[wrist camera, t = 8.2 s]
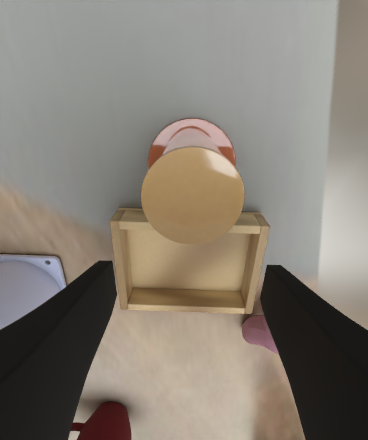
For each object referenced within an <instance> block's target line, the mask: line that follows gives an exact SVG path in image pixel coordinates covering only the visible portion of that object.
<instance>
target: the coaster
mask: <svg viewBox="0 0 368 440" xmlns="http://www.w3.org/2000/svg"><path fill="white" fill-rule="evenodd" d="M184 134H199V135H202V136H205V137H206V138H208V139H210V140H211V141H212V142H213V143H214V144H215V145H216V147H217V148H218V149H219V151H220V152H221V153H222V155H224V156H225V157H226V158H227V159H228V160H229V161H230V162H231V163H232V164H233V165H234V167H235V154H234V149H233V146H232V144H231V142H230V140H229V138H228V137H227V135H226V134H225V133H224V132H223V131H222V130H221V129H220V128H219V127H217V126H216V125H214V124H213V123H211V122H208V121H206V120H202V119H196V118H187V119H182V120H179V121H176V122H174V123H172V124H170V125H168V126H167V127H166V128H164V129H163V130H162V131H161V132H160V133H159V134H158V136H157V137H156V138H155V140H154V142H153V144H152V146H151V149H150V152H149V158H148V167H149V169H150V168H151V166H152V165H153V164H154V163H155V161H156V160H157V159H159V158H160V156H161V155H162V153H163V151H164V150H165V148H166V147H167V145H168V144H169V143H170V142H171V141H172V140H174V139H175V138H177V137H179V136H181V135H184Z"/></svg>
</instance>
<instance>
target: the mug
mask: <svg viewBox="0 0 368 440" xmlns="http://www.w3.org/2000/svg"><path fill="white" fill-rule="evenodd" d="M70 431H80V434H79V436H78V438H77V440H131V427H130V422H129V417H128V413H127V409H126V408H125V407H124V406H123V405H121V404H119V403H116V402H106V403H103V404H101V405H100V406H99V407H98V408H97V410H96V411H95V412H94V413H93V414H92V416H91V417H90V418H89V419H88V420H87V421H86V423H72V427H71V430H70Z"/></svg>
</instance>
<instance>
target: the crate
mask: <svg viewBox="0 0 368 440" xmlns="http://www.w3.org/2000/svg"><path fill="white" fill-rule="evenodd" d="M110 228H111V236H112V244H113V252H114V260H115V268H116V276H117V284H118V292H119V300H120V308H121V309H125V310H127V309H129V310H153V311H180V312H208V313H236V314H244V313H245V314H252V310H253V306H254V301H255V296H256V291H257V287H258V282H259V277H260V272H261V268H262V263H263V258H264V254H265V249H266V244H267V239H268V235H269V230H270V225H269V224H268V223H267V221H266V220H265V218H264V217H263V215H262V214H261V213H259V212H241V214H240V216H239V218H238V220H237V221H236V223H235V224H234V225H233V227H232V228H231V229H230V230H229V231H228V232H226V233H225V234H224V235H222V236H221V237H219V238H217V239H215V240H213V241H210V242H207V243H203V244H196V245H189V244H182V243H177V242H174V241H172V240H169V239H167V238H166V237H164V236H162V235H161V234H160V233H158V232H157V231H156V230H155V229H154V228H153V227H152V225H151V224H150V223H149V221H148V220H147V218H146V216H145V214H144V211H143V209H137V208H119V209H118V210H117V212H116V213H115V214H114V216H113V217H112V219H111V220H110Z"/></svg>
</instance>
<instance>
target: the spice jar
mask: <svg viewBox="0 0 368 440" xmlns="http://www.w3.org/2000/svg"><path fill="white" fill-rule="evenodd" d="M244 196H245V195H244V186H243V182H242V179H241V176H240V174H239V173H238V171H237V169H236V168H235V167H234V165H233V164H232V163H231V162H230V161H229V160H228V159H227V158H226V157H225V156H224V155H222V153H221V152H220V151H219V149H218V148H217V147H216V145H215V144H214V143H213V142H212V141H211V140H210V139H208V138H206V137H205V136H202V135H199V134H184V135H181V136H179V137H177V138H175V139H174V140H172V141H171V142H170V143H169V144H168V145H167V147H166V148H165V150H164V151H163V153H162V155H161V156H160V158H159V159H157V160H156V161H155V163H154V164H153V165H152V166H151V168H150V169H149V171H148V172H147V174H146V176H145V178H144V181H143V184H142V189H141V203H142V208H143V211H144V214H145V216H146V218H147V220H148V221H149V223H150V224H151V225H152V227H153V228H154V229H155V230H156V231H157V232H158V233H160V234H161V235H162V236H164V237H166V238H167V239H169V240H172V241H174V242H177V243H182V244H189V245H196V244H203V243H207V242H210V241H213V240H215V239H217V238H219V237H221V236H222V235H224V234H225V233H226V232H228V231H229V230H230V229H231V228H232V227H233V225H234V224H235V223H236V221H237V220H238V218H239V216H240V214H241V211H242V209H243V205H244Z"/></svg>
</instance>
